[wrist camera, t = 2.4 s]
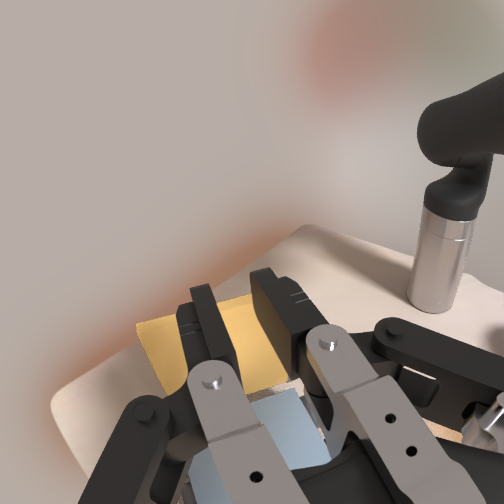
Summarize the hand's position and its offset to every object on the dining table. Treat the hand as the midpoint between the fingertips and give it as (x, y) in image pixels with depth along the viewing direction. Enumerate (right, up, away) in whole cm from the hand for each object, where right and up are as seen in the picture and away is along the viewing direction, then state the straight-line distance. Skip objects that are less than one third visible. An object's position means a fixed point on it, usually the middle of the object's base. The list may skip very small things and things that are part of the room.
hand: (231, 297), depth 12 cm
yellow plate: (-1, -14, +21) cm, 26 cm away
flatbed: (+1, -22, +18) cm, 28 cm away
